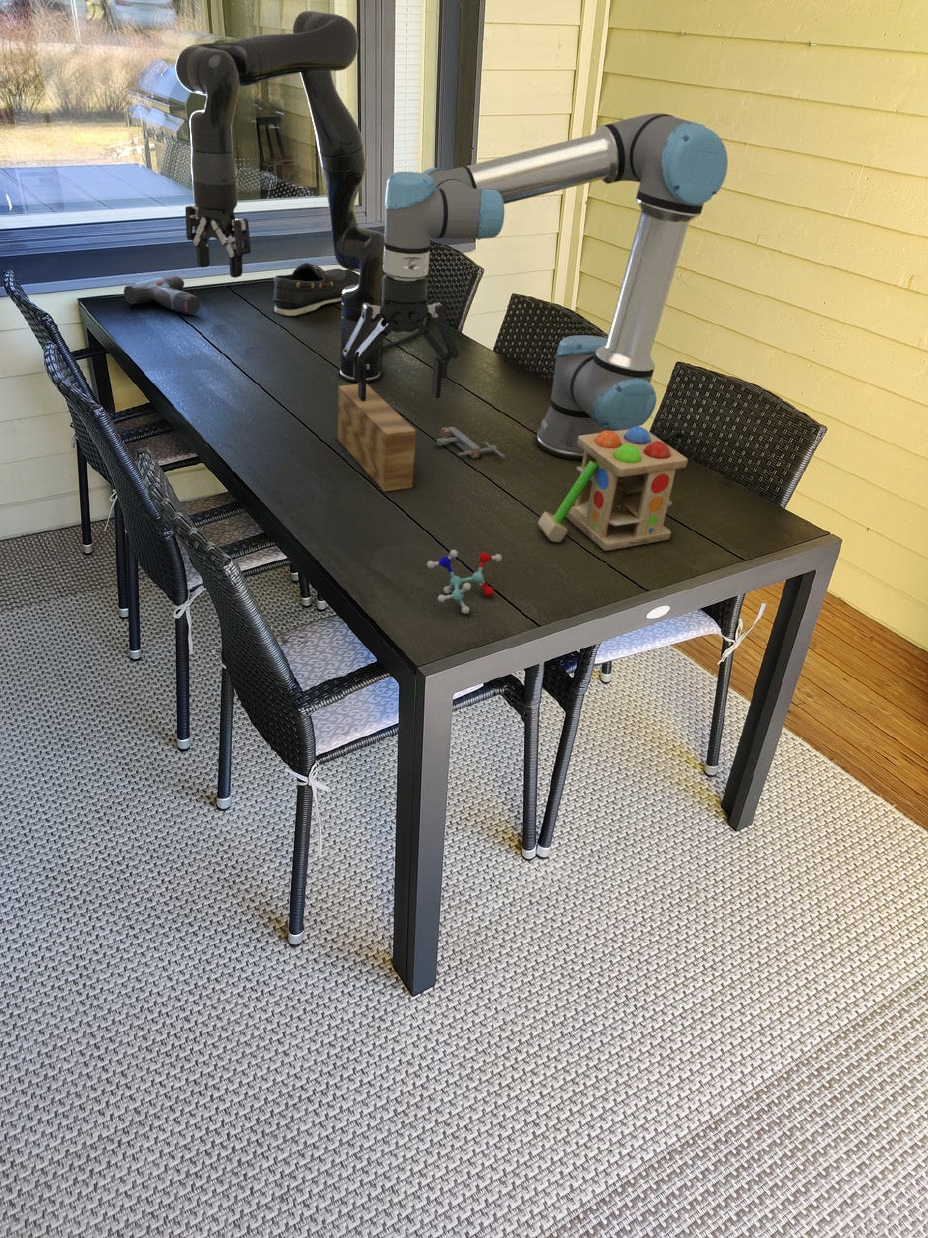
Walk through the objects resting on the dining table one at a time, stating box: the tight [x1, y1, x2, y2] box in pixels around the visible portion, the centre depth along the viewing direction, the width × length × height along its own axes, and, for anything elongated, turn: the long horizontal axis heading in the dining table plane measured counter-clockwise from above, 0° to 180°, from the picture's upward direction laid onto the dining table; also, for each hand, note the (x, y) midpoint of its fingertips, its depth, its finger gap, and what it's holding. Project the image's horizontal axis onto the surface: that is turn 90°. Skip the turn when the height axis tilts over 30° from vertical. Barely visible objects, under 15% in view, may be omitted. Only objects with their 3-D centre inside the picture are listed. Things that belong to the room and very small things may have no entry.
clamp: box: [436, 426, 507, 460], centre depth 201 cm, size 15×2×10 cm
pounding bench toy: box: [537, 426, 689, 552], centre depth 173 cm, size 23×14×18 cm, turn 116°
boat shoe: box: [272, 262, 352, 317], centre depth 274 cm, size 13×33×10 cm, turn 147°
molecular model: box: [426, 549, 503, 615], centre depth 154 cm, size 12×10×10 cm
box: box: [337, 383, 417, 492], centre depth 191 cm, size 24×6×12 cm, turn 27°
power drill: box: [123, 275, 201, 316], centre depth 262 cm, size 5×19×20 cm
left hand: (219, 271), depth 182 cm, fingers open, 8 cm apart
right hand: (399, 397), depth 174 cm, fingers open, 13 cm apart
